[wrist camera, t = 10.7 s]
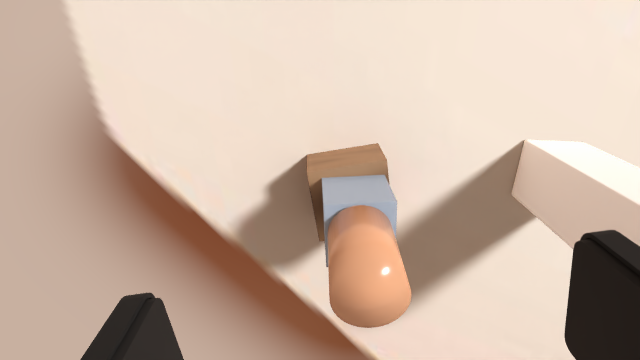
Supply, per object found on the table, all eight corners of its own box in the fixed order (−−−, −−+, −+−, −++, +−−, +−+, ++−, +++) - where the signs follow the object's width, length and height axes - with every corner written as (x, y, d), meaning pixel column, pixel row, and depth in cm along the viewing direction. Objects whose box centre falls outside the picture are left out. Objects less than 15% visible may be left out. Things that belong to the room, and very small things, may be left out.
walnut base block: (384, 206, 42) (394, 230, 37) (318, 216, 42) (319, 241, 38) (377, 142, 39) (386, 159, 35) (307, 154, 40) (306, 172, 35)
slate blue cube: (383, 229, 37) (395, 263, 32) (324, 232, 37) (326, 266, 32) (384, 174, 35) (396, 201, 30) (321, 177, 35) (323, 204, 30)
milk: (582, 141, 40) (874, 270, 19) (566, 197, 42) (812, 366, 22) (522, 139, 40) (754, 267, 19) (508, 195, 42) (703, 364, 21)
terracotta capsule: (394, 256, 32) (412, 323, 26) (331, 262, 32) (334, 331, 26) (390, 201, 30) (410, 260, 24) (323, 209, 30) (324, 269, 24)
